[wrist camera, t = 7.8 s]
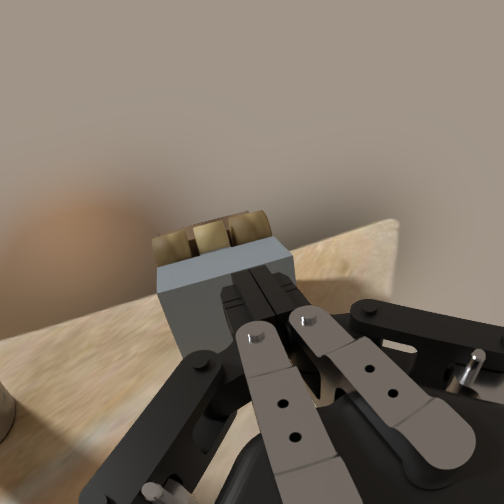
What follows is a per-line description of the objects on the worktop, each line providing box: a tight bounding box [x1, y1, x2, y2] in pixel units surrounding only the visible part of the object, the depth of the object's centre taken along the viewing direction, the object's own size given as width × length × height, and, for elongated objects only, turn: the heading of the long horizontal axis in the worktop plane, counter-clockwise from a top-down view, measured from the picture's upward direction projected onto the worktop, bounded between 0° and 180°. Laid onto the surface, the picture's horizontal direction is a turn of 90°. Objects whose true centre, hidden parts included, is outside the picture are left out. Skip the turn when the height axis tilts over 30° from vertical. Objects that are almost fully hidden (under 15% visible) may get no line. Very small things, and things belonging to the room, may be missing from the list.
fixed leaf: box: [152, 210, 272, 267], centre depth 30 cm, size 10×8×11 cm
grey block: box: [157, 220, 296, 359], centre depth 26 cm, size 10×8×11 cm
